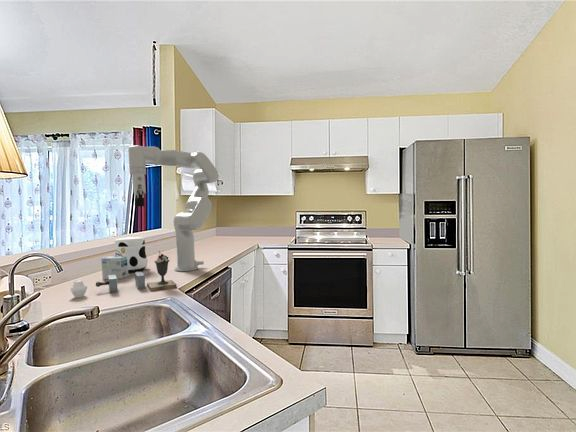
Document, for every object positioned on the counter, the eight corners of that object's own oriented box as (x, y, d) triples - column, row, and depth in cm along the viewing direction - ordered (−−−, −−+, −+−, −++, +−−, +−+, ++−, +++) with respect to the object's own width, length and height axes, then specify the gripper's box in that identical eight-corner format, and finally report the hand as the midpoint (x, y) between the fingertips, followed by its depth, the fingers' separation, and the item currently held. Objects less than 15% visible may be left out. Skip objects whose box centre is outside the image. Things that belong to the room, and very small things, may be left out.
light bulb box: (128, 276, 199) (127, 255, 199) (122, 279, 193) (120, 257, 192) (109, 276, 200) (108, 255, 200) (102, 279, 194) (100, 258, 193)
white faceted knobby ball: (71, 299, 155) (70, 282, 155) (69, 296, 160) (68, 280, 160) (89, 296, 159) (88, 280, 158) (86, 294, 164) (85, 277, 163)
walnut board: (171, 283, 180) (171, 279, 180) (176, 287, 170) (176, 284, 170) (147, 286, 175) (147, 283, 174) (150, 291, 165) (150, 287, 165)
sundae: (156, 285, 168) (154, 251, 167) (154, 282, 174) (152, 250, 173) (171, 283, 171) (170, 250, 170) (169, 281, 177) (167, 248, 176)
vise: (142, 284, 179) (141, 271, 178) (145, 288, 170) (144, 275, 170) (95, 290, 170) (95, 276, 170) (96, 295, 161) (95, 281, 161)
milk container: (107, 273, 208) (105, 240, 207) (127, 267, 225) (125, 236, 224) (135, 274, 204) (134, 240, 203) (154, 267, 221) (152, 236, 220)
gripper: (148, 170, 182) (150, 206, 183) (143, 172, 198) (145, 205, 199) (131, 170, 179) (133, 206, 180) (128, 172, 194) (129, 206, 195)
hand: (139, 206), depth 189 cm, fingers open, 9 cm apart
